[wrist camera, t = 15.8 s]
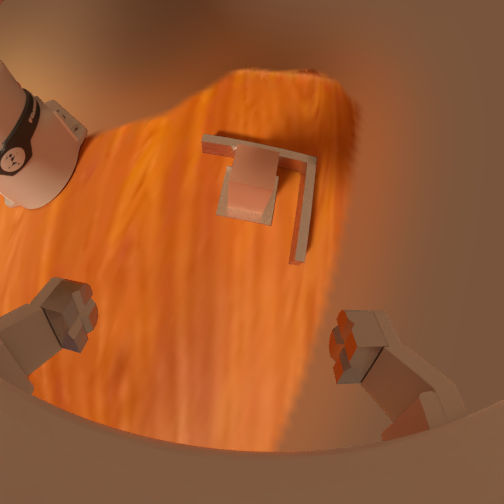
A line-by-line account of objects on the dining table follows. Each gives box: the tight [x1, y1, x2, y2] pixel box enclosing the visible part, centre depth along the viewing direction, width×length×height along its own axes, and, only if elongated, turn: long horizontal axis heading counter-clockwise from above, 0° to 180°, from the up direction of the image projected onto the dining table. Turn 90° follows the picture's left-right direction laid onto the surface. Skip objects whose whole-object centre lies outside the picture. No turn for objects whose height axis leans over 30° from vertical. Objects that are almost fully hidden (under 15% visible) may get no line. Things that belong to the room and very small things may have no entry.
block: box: [227, 144, 280, 214], centre depth 31 cm, size 4×4×8 cm
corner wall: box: [201, 134, 317, 265], centre depth 33 cm, size 14×15×3 cm
